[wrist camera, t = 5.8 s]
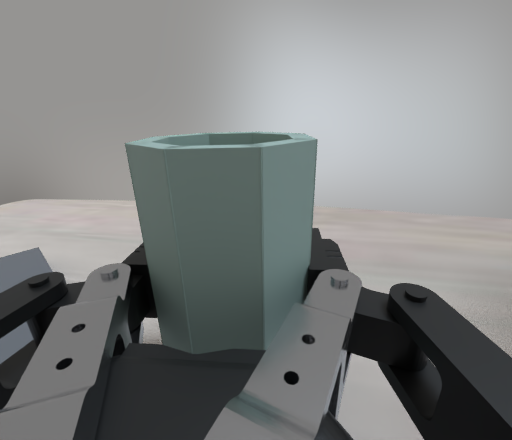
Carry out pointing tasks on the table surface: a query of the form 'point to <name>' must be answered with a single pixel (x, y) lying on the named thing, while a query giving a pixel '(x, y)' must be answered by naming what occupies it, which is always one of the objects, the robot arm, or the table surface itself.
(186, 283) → the sleeve
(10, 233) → the table surface
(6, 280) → the pin board
